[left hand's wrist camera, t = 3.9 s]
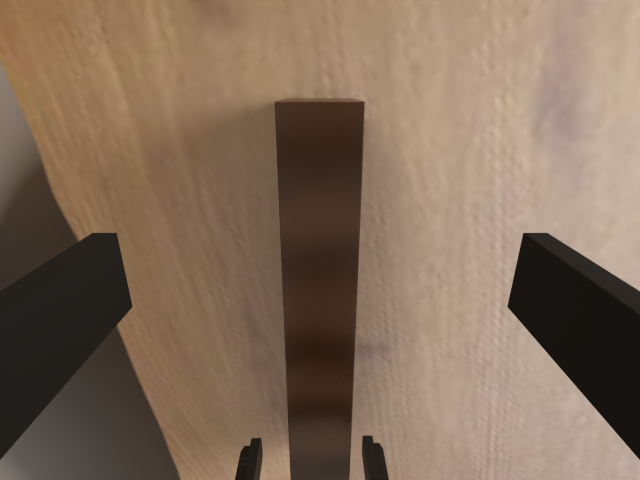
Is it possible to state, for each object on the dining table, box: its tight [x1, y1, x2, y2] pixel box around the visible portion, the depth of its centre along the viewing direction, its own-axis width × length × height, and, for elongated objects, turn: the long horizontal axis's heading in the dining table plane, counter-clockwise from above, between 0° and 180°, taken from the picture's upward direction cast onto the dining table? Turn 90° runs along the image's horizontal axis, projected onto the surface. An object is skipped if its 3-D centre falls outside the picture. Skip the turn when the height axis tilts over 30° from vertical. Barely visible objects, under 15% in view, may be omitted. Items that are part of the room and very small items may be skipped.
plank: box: [275, 99, 365, 480], centre depth 27 cm, size 30×4×7 cm, turn 0°
